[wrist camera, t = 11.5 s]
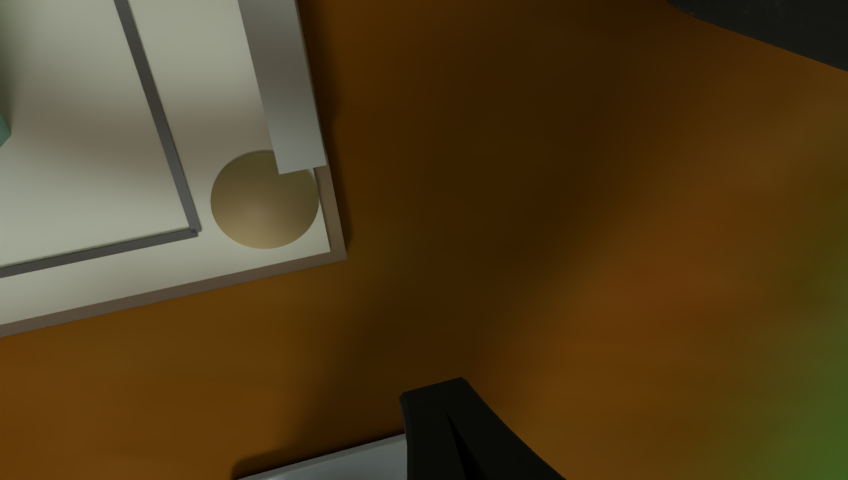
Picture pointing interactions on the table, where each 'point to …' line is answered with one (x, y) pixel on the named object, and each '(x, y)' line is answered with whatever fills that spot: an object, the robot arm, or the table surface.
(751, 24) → the travel mug
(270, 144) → the clipboard with paper sheet
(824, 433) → the table surface
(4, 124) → the teal banded box
